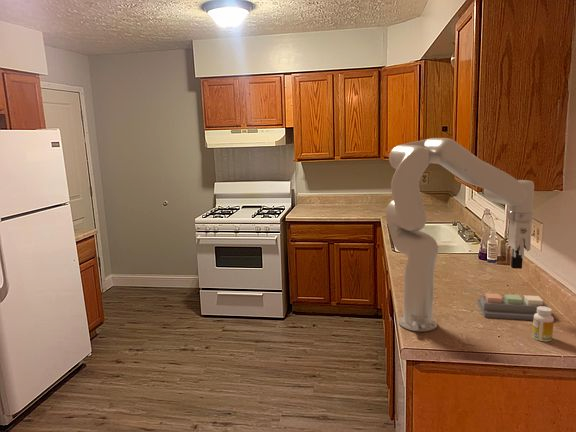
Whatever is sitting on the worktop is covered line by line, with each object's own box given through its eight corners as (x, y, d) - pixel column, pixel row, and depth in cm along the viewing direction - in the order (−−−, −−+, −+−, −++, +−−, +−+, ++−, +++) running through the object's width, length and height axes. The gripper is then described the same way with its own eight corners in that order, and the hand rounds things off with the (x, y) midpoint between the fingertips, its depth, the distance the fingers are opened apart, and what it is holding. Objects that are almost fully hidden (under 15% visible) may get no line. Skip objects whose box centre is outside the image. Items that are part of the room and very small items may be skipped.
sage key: (521, 308, 153) (522, 299, 153) (507, 307, 154) (508, 298, 154) (518, 303, 158) (518, 294, 157) (504, 302, 159) (504, 294, 158)
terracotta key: (501, 307, 155) (502, 298, 154) (487, 306, 156) (488, 297, 155) (498, 302, 159) (499, 293, 159) (484, 301, 160) (485, 293, 160)
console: (551, 321, 148) (552, 310, 147) (484, 317, 153) (485, 306, 152) (538, 306, 161) (539, 296, 160) (477, 303, 165) (477, 293, 164)
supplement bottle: (553, 337, 137) (556, 308, 135) (549, 343, 133) (552, 313, 131) (534, 332, 140) (536, 303, 139) (529, 338, 137) (532, 309, 135)
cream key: (542, 309, 152) (543, 300, 151) (527, 308, 153) (528, 300, 152) (537, 304, 156) (538, 296, 156) (523, 303, 157) (524, 295, 157)
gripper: (538, 221, 142) (534, 275, 146) (525, 212, 157) (521, 262, 160) (513, 220, 144) (510, 274, 147) (502, 212, 158) (499, 261, 162)
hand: (516, 267), depth 154 cm, fingers closed
